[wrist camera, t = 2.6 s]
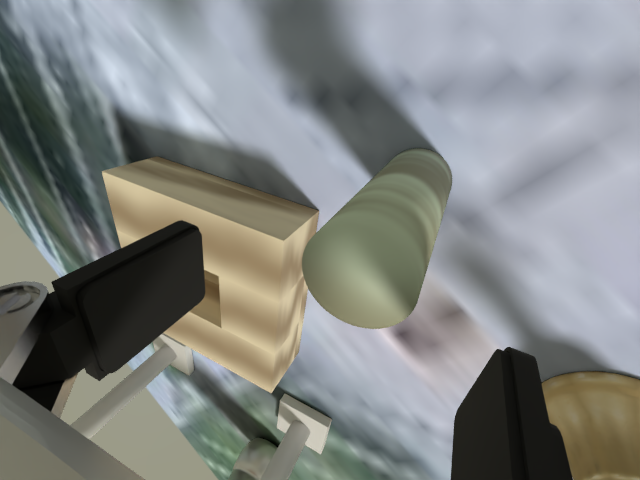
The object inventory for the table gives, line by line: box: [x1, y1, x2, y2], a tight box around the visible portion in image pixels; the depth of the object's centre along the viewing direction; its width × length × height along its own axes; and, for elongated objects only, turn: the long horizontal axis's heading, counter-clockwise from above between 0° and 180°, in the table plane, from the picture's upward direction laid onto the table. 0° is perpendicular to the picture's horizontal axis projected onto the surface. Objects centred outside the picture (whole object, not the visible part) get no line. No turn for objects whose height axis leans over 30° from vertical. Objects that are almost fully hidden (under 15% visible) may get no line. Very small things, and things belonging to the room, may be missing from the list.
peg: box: [302, 148, 452, 329], centre depth 15 cm, size 4×4×11 cm
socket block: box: [102, 157, 319, 393], centre depth 27 cm, size 16×16×5 cm
